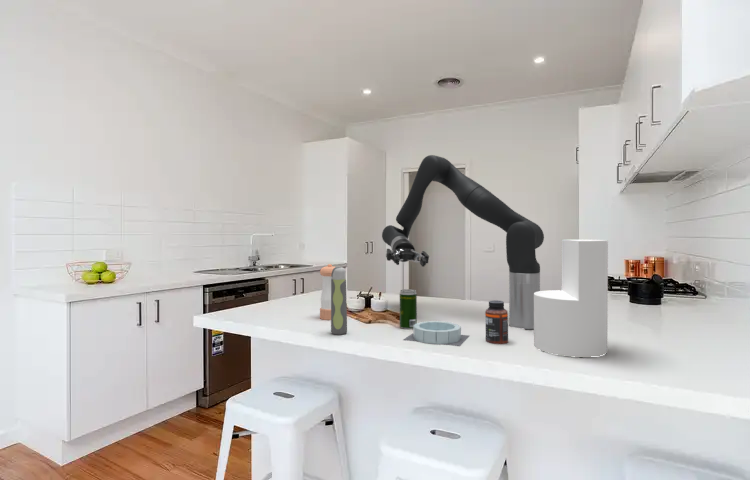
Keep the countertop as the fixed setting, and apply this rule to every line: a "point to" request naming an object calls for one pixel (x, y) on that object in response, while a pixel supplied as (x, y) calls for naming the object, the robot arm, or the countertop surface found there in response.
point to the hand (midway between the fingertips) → (411, 262)
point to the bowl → (437, 332)
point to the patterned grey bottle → (338, 302)
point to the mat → (459, 343)
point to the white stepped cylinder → (575, 303)
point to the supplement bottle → (496, 323)
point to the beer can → (408, 308)
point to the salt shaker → (326, 292)
